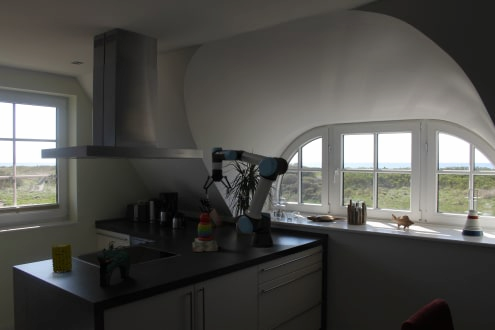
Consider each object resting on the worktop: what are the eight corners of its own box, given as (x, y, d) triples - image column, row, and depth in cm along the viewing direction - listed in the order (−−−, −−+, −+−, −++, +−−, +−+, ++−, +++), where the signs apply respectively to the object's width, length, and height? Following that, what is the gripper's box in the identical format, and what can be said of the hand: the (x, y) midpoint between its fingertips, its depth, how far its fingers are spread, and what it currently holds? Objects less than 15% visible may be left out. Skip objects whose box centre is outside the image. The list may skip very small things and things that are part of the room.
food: (57, 277, 202) (51, 274, 210) (80, 267, 210) (73, 265, 218) (49, 249, 200) (43, 247, 208) (72, 241, 208) (66, 239, 216)
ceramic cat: (105, 288, 180) (104, 244, 180) (94, 286, 182) (93, 243, 182) (132, 276, 198) (132, 236, 198) (122, 275, 201) (122, 236, 201)
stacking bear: (210, 241, 254) (210, 214, 254) (195, 241, 256) (195, 214, 256) (214, 238, 265) (214, 212, 265) (200, 238, 267) (200, 212, 267)
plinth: (215, 245, 270) (215, 237, 270) (217, 250, 254) (217, 241, 254) (192, 246, 267) (192, 237, 267) (192, 251, 252) (192, 242, 252)
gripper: (233, 168, 285) (234, 197, 285) (199, 169, 281) (199, 198, 281) (235, 168, 278) (235, 198, 278) (199, 169, 274) (200, 199, 274)
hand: (217, 198), depth 280 cm, fingers open, 13 cm apart
